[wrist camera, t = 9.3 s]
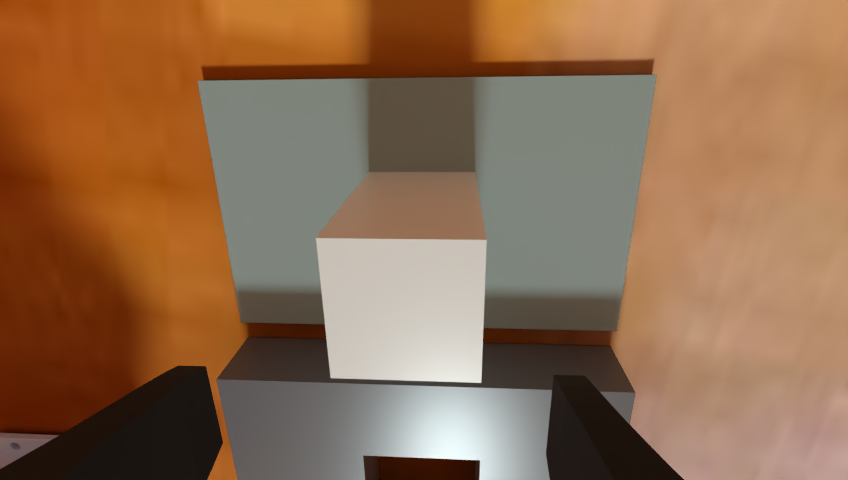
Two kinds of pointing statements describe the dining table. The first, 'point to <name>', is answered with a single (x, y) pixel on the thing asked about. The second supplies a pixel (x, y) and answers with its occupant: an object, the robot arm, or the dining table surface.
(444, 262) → the plug
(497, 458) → the plate
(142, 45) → the dining table surface
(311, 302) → the mat
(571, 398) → the robot arm
